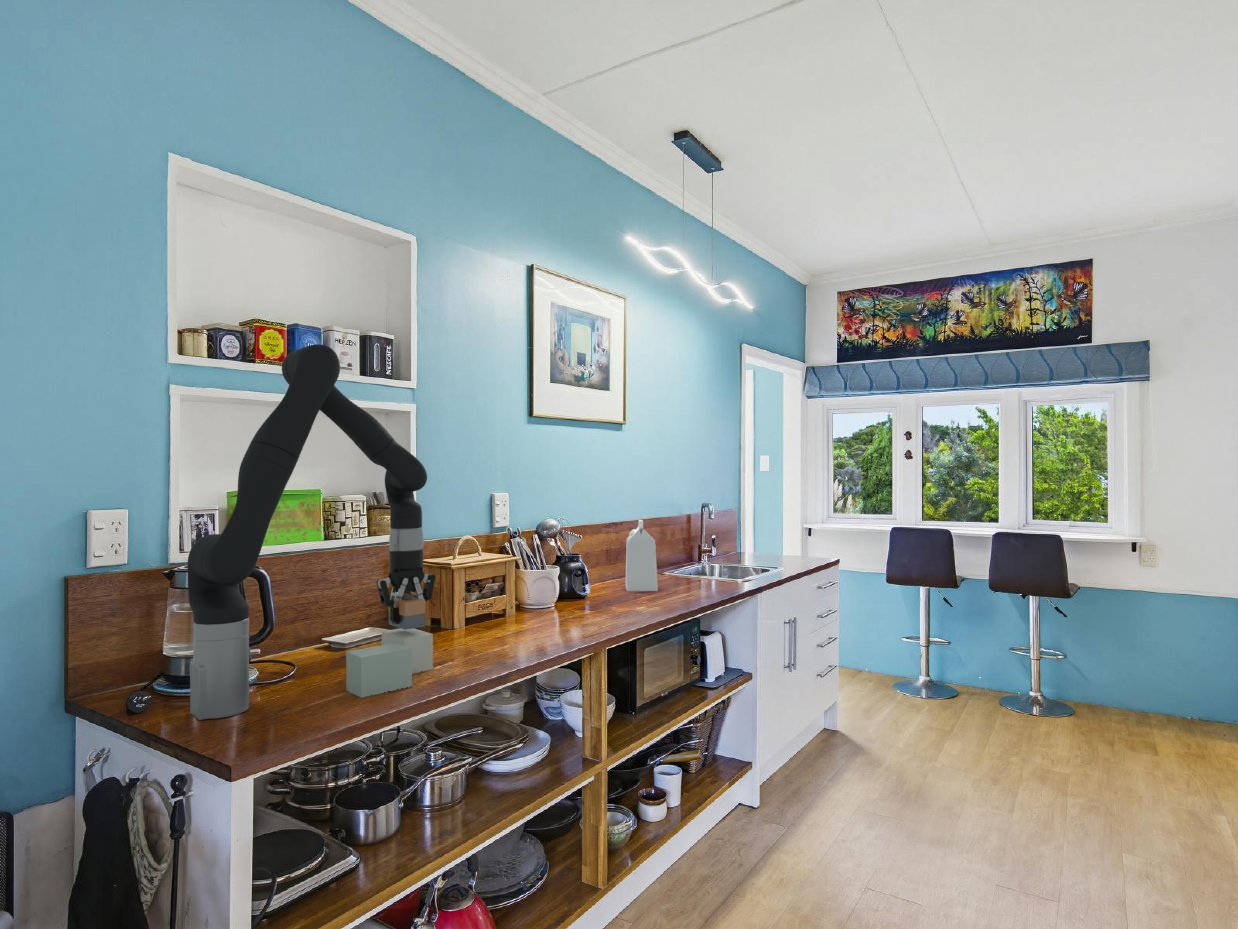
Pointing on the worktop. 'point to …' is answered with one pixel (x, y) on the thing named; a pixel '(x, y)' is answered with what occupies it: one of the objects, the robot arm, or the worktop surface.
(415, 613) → the top plate
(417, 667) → the stand
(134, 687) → the worktop surface
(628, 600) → the worktop surface
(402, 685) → the stand
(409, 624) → the bottom plate
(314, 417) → the robot arm
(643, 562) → the milk
